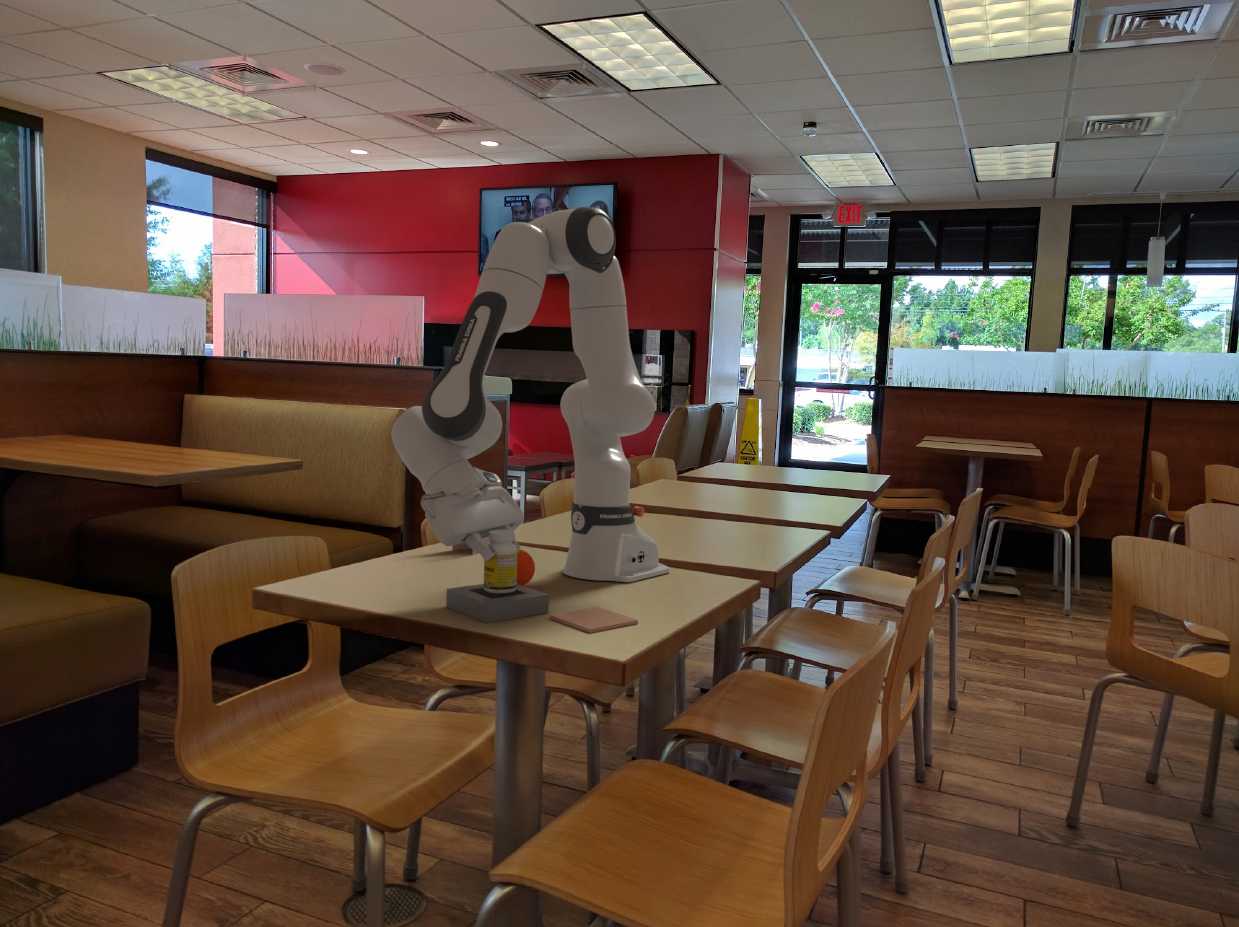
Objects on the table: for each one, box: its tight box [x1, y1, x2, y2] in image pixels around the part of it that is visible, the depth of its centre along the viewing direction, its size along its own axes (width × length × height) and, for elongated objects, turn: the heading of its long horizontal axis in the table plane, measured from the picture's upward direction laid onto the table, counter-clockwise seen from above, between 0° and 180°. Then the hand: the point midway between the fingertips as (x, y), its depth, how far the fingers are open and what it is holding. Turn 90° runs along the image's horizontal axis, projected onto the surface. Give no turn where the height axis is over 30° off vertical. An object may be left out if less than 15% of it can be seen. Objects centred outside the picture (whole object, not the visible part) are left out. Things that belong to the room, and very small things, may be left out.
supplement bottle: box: [483, 530, 517, 594], centre depth 143 cm, size 5×5×10 cm
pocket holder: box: [445, 583, 550, 624], centre depth 143 cm, size 12×12×3 cm
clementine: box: [517, 549, 536, 586], centre depth 160 cm, size 8×7×7 cm
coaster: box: [549, 606, 639, 634], centre depth 139 cm, size 10×10×1 cm
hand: (504, 554), depth 143 cm, fingers closed on supplement bottle, 5 cm apart
